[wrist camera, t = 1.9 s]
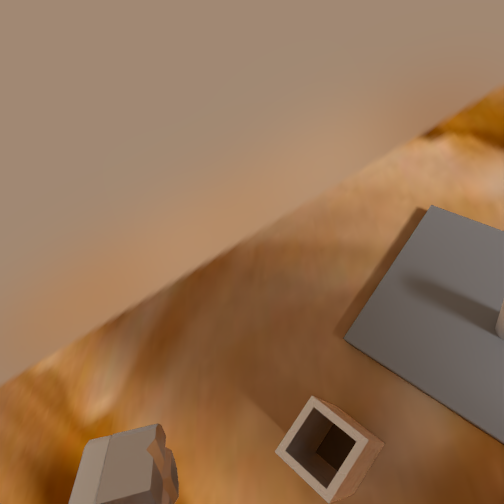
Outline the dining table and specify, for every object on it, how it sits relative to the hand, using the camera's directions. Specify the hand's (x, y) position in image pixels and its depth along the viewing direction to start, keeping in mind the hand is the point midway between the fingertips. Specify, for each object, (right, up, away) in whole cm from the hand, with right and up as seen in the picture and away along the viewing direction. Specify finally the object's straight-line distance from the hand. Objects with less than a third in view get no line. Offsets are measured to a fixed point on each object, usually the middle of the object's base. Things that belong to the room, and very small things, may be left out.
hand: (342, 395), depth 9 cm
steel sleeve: (+6, -14, +26) cm, 31 cm away
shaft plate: (+20, -4, +25) cm, 32 cm away
